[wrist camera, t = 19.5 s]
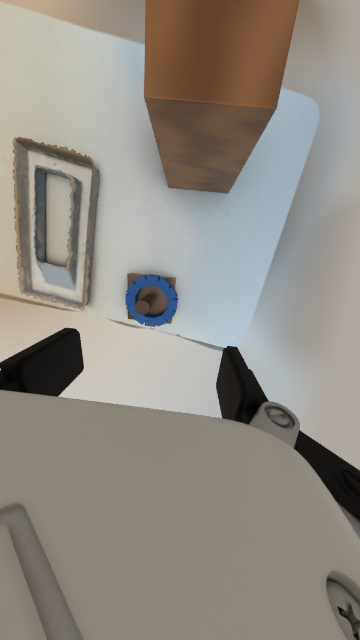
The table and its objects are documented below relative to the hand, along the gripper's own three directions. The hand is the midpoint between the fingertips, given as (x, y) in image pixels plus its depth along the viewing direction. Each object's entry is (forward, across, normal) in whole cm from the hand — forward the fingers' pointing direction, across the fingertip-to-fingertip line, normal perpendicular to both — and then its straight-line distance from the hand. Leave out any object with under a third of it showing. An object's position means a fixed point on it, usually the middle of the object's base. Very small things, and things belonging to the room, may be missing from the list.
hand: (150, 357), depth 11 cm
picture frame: (+24, +22, -8) cm, 34 cm away
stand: (+24, -2, -22) cm, 33 cm away
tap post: (+24, +5, +2) cm, 25 cm away
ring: (+22, +5, +2) cm, 23 cm away
